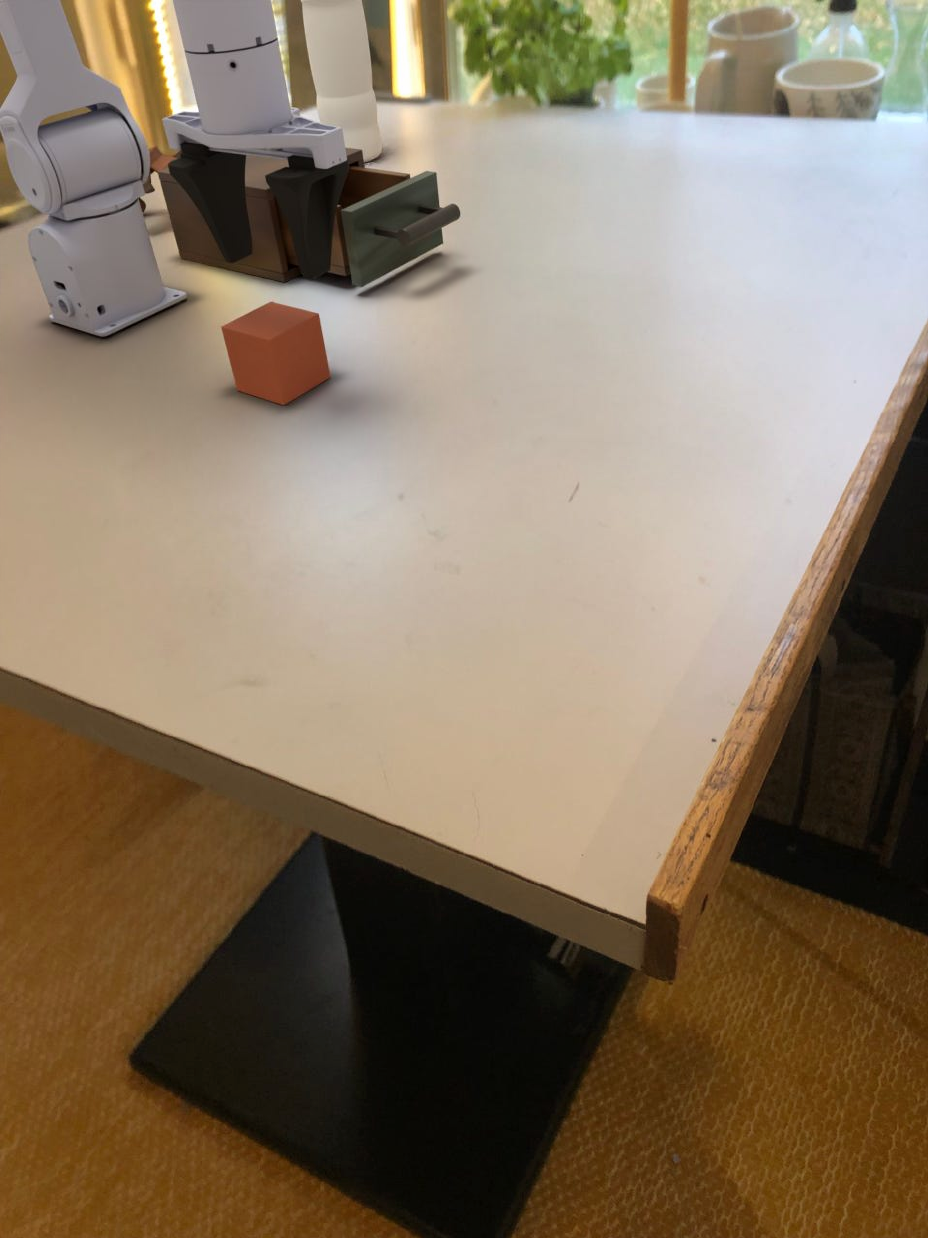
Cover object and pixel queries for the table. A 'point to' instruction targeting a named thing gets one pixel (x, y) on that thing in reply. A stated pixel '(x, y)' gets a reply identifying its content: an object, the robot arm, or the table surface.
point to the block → (276, 352)
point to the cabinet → (263, 222)
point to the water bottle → (343, 71)
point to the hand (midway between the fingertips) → (277, 265)
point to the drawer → (381, 223)
